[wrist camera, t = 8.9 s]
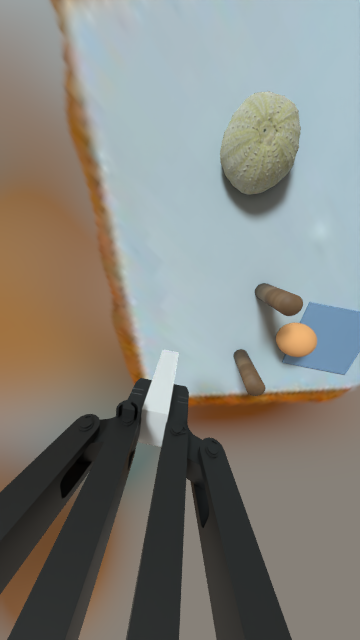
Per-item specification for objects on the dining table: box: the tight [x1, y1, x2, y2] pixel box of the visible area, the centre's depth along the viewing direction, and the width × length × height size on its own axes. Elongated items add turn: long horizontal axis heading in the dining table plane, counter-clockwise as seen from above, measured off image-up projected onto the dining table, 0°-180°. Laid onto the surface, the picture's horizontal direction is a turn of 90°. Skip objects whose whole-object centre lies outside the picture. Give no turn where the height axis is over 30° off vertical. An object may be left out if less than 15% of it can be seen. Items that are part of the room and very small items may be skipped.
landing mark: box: [282, 302, 360, 375], centre depth 31 cm, size 12×12×1 cm
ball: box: [276, 323, 317, 357], centre depth 28 cm, size 6×6×6 cm
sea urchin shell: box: [220, 91, 301, 195], centre depth 21 cm, size 9×8×8 cm
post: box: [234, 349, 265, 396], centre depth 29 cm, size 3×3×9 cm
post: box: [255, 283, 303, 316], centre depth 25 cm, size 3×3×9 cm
